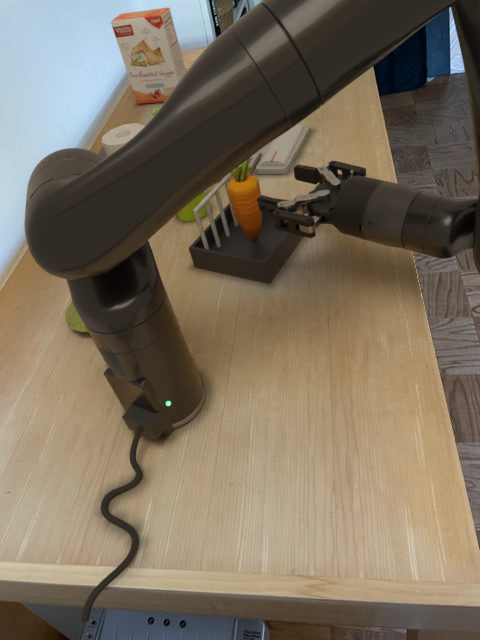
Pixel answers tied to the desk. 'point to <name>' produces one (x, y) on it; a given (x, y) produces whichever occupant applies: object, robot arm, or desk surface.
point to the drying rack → (240, 243)
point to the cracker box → (150, 53)
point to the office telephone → (279, 152)
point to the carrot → (245, 200)
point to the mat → (74, 319)
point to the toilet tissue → (118, 138)
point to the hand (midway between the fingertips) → (277, 186)
